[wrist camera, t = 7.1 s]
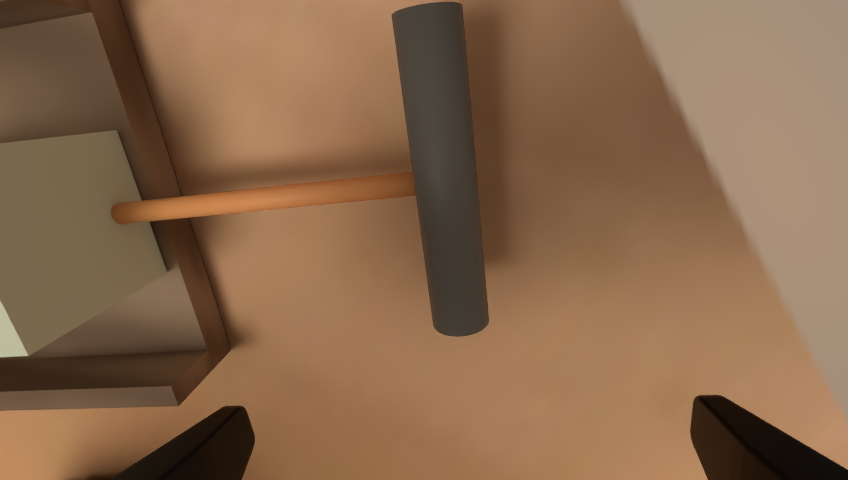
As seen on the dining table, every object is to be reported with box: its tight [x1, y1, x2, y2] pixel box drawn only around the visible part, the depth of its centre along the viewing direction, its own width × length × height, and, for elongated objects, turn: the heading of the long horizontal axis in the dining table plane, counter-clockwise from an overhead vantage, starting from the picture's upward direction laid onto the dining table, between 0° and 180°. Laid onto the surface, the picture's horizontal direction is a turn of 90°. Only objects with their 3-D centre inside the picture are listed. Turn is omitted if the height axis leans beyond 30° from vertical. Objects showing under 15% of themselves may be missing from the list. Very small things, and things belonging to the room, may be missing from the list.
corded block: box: [0, 2, 489, 357], centre depth 14 cm, size 10×20×6 cm, turn 97°
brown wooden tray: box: [0, 0, 231, 411], centre depth 18 cm, size 16×14×4 cm
